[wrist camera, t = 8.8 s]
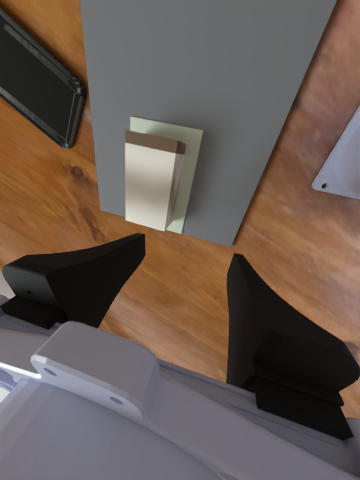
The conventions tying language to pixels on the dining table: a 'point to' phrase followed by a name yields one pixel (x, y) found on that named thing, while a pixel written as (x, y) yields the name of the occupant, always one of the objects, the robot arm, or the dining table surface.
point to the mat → (198, 90)
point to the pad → (189, 163)
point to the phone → (39, 84)
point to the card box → (152, 178)
